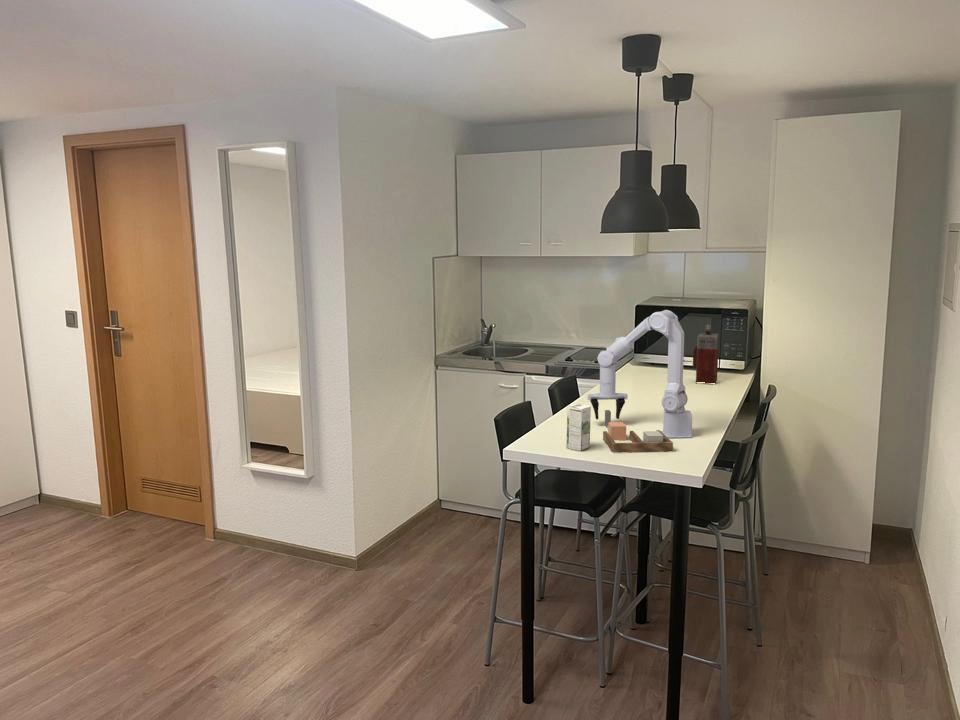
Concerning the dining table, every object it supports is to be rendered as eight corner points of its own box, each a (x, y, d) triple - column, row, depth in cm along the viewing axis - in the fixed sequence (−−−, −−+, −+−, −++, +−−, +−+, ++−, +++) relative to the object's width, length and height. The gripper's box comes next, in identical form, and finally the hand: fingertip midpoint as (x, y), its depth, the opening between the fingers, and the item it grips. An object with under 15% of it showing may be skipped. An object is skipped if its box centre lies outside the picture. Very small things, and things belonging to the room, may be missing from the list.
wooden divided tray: (659, 438, 253) (659, 430, 253) (672, 451, 237) (672, 442, 237) (603, 439, 253) (603, 431, 252) (612, 452, 237) (612, 443, 236)
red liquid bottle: (693, 379, 360) (695, 323, 355) (717, 381, 355) (719, 324, 351) (690, 383, 351) (692, 325, 347) (715, 384, 347) (717, 326, 343)
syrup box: (575, 444, 247) (575, 402, 244) (590, 447, 243) (591, 405, 241) (566, 448, 242) (566, 406, 240) (581, 451, 238) (581, 408, 236)
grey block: (657, 445, 245) (658, 431, 244) (662, 450, 239) (663, 435, 238) (643, 445, 245) (643, 431, 244) (647, 450, 239) (647, 435, 238)
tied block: (613, 425, 272) (613, 409, 271) (626, 440, 252) (626, 423, 251) (600, 425, 272) (600, 410, 271) (611, 440, 251) (611, 423, 250)
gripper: (624, 380, 273) (624, 415, 275) (586, 381, 273) (585, 416, 275) (629, 383, 266) (628, 420, 268) (589, 384, 266) (589, 420, 268)
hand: (607, 418), depth 271 cm, fingers open, 7 cm apart
